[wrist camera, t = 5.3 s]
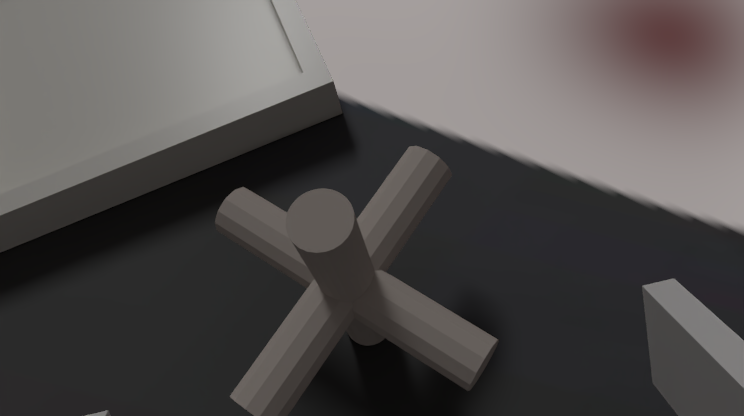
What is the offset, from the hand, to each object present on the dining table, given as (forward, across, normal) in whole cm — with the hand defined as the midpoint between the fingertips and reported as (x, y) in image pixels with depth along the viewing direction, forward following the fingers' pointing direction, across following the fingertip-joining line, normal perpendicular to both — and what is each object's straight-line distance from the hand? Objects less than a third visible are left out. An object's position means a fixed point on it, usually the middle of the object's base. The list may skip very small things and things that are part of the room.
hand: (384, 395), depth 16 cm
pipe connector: (+10, -1, -3) cm, 10 cm away
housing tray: (+21, -10, +9) cm, 25 cm away
